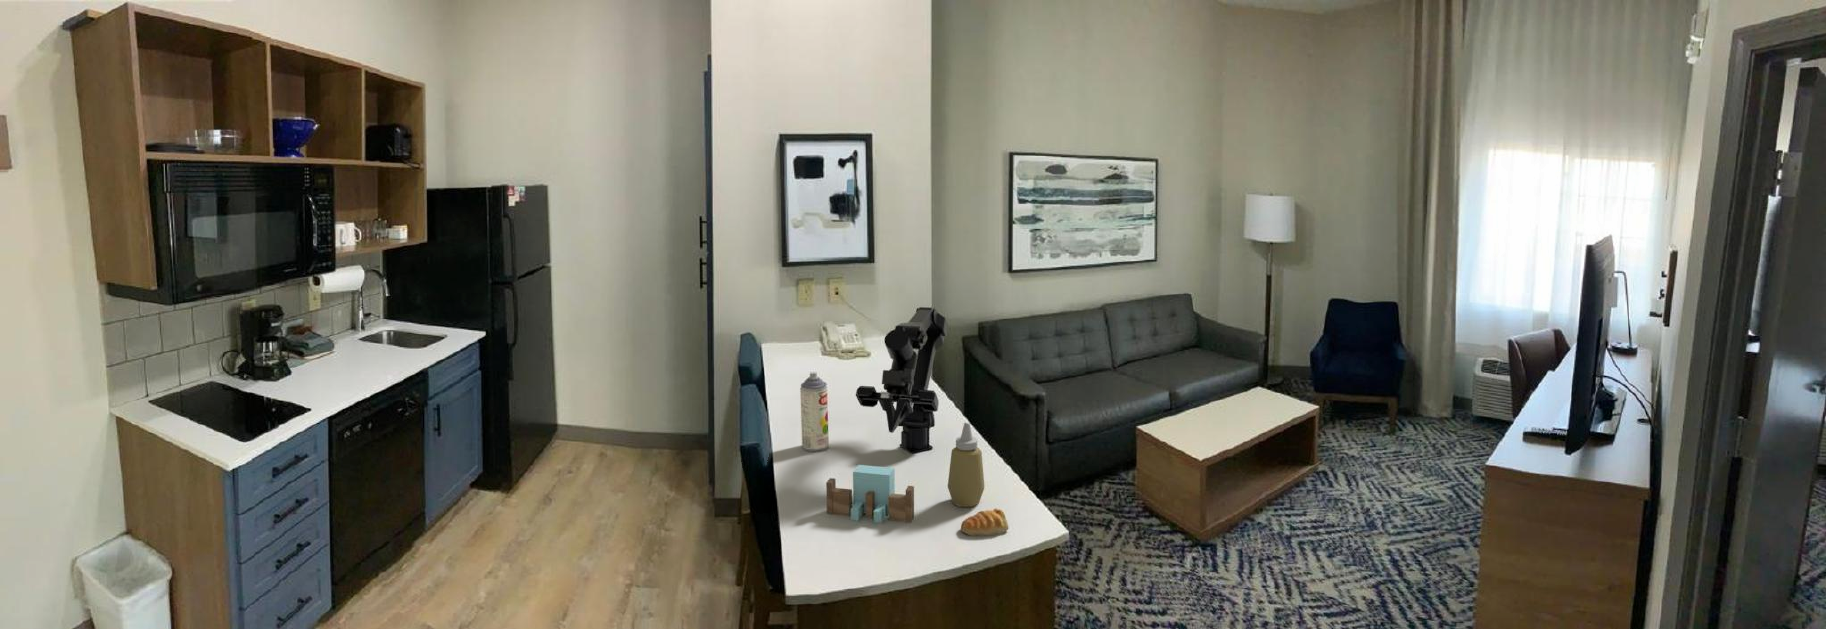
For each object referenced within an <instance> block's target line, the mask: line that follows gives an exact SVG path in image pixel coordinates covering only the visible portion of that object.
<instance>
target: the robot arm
mask: <svg viewBox="0 0 1826 629" xmlns="http://www.w3.org/2000/svg"><path fill="white" fill-rule="evenodd" d="M948 327H949V326H948V323H947V319H946V317H945V316H943V315H942V314H940V313H939V312H938V311H937V309H936V308H934V307H929V306H928V307H927V306H926V307H925V306H920V307H917V308H916V311H915V313H914V314H913V316H912V317H911V318H910V319H909V320H908V321H907V322H901V323H899V324H898V325H895V327H894V329H893V330H890V331H889V332H888V333H887V334H886V335H885V336H884V342H883V343H884V344H885V347H886V350H887V352H888V354H889V358H890V359H892V361H891V362H892V363H891V368H889V369H884V370H883V371H882V378H881V385H883V390H884V391H880V392H879V391H877V390H876V387H875V386H868V385H859V387H857V389H856V392H855V397H856V400H857V401H858V403H859V405H860V406H862V407H869V408H875V407H876V406H877V405H878V404H880V407H881V409H882V411H884V412H885V414H886V420H887V426H888V432H889V433H891V434H893V433H894V432H895V431H896V429H897V428H898V427H902V431H901V432H900V434H901V436H900V438H901V439H900V440H901V443H900V444H899V447H900V448H902V449H904V450H905V451H907V452H908V453H911V454H915V453H919V452H924V451H928V450H929V451H930V450H932V449H934V448H933V446H932V445H930V429H932V428H934V427H935V426H936V422H935V420H936V418H935V413H934V412H938V411H939V399H938V394H937V393H936V391H935V390H929V384H930V380H931V376H932V375H931V374H932V371H933V366H934V361H935V356H936V352H937V350H939V349H940V348H941V347H942V346H943V345H944V342H945V339H946V337H947V336H948V330H949V328H948ZM914 350H918V351H917V352H916V351H914ZM878 402H879V403H878ZM895 403H896V404H895ZM894 404H895V406H894Z"/></svg>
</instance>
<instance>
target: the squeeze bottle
mask: <svg viewBox="0 0 1826 629" xmlns="http://www.w3.org/2000/svg"><path fill="white" fill-rule="evenodd" d="M970 423H971V422H964V423H963V427H962V432H961V435H960V436H959V437H957V438H955V447H954V448H952V449H951V454H950V463H949V471H948V472H949V473H948V478H947V480H948V482H947V490H948V492H949V495H950V498H951V500H952V501H951V502H952V503H953V504H954V505H956V506H957V507H965V508H966V507H967V508H969V507H975V506H977V505H978V504H979V503H980V500H981V498H982V496H983V493H984V490H985V477H984V464H983V463H984V462H983V455H982V454H983V453H982V450H981V449H980V448H979V447H978V439H977V438H976V437H974V436H973V434H972V428H971V424H970Z"/></svg>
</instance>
